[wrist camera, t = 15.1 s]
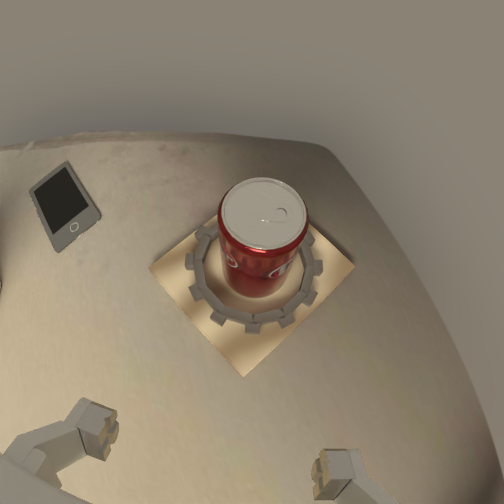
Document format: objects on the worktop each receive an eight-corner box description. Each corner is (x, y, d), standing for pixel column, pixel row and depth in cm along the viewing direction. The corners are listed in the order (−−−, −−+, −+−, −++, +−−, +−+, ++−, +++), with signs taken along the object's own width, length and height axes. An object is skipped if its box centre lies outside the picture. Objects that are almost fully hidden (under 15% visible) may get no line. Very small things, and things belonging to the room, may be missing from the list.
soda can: (215, 291, 33) (205, 241, 22) (231, 233, 36) (230, 166, 25) (280, 306, 33) (304, 263, 22) (292, 247, 36) (315, 184, 25)
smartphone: (29, 192, 39) (27, 190, 39) (67, 162, 42) (65, 160, 41) (58, 256, 35) (55, 253, 35) (103, 219, 38) (101, 216, 37)
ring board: (150, 271, 35) (144, 262, 32) (261, 187, 40) (262, 174, 38) (243, 377, 30) (243, 376, 28) (351, 270, 36) (359, 261, 34)
